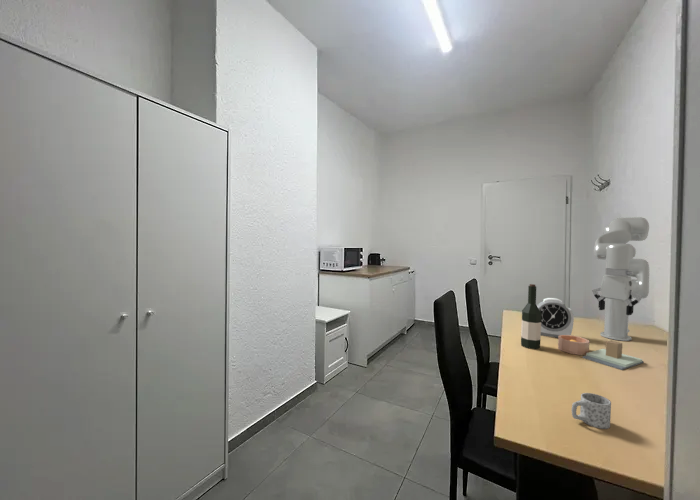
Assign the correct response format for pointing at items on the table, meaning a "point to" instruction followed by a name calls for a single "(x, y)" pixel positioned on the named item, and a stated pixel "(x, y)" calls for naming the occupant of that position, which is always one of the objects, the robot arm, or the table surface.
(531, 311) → the wine bottle
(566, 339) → the bowl
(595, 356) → the lid
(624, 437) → the table surface
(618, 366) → the mat
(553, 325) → the alarm clock
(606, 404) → the mug
